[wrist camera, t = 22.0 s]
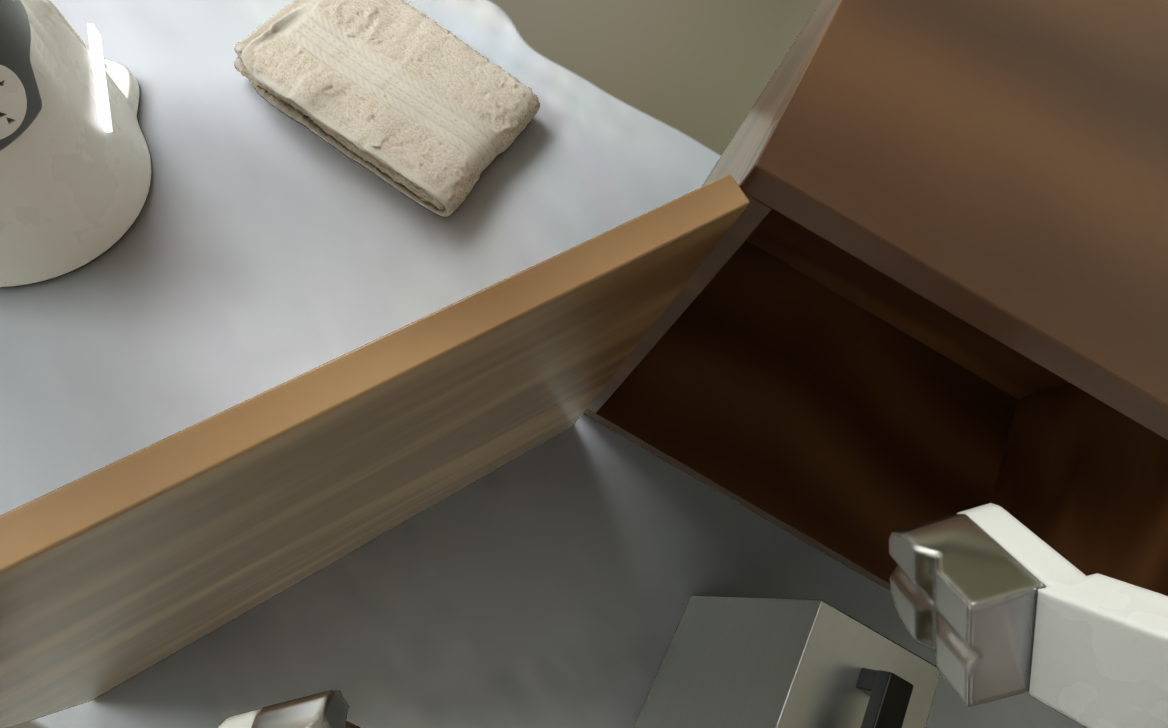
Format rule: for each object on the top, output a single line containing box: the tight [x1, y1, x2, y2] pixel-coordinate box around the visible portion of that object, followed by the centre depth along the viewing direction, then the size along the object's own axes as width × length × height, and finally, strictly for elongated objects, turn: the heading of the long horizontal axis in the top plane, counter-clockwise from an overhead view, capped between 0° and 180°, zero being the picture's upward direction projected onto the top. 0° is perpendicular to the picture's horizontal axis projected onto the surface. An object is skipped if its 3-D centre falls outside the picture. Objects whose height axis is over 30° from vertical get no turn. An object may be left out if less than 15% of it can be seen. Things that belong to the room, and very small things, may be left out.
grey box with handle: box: [634, 596, 940, 728], centre depth 31 cm, size 6×9×17 cm, turn 152°
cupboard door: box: [0, 175, 750, 728], centre depth 26 cm, size 7×28×26 cm, turn 122°
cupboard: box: [584, 0, 1168, 596], centre depth 34 cm, size 18×28×26 cm, turn 62°
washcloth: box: [234, 0, 540, 216], centre depth 45 cm, size 12×18×3 cm, turn 58°
